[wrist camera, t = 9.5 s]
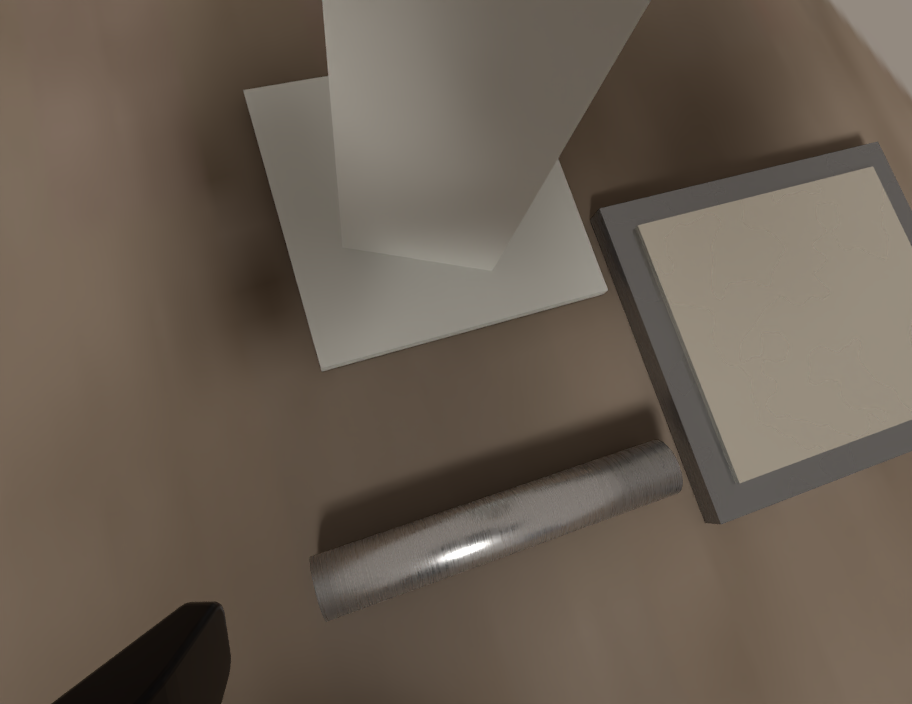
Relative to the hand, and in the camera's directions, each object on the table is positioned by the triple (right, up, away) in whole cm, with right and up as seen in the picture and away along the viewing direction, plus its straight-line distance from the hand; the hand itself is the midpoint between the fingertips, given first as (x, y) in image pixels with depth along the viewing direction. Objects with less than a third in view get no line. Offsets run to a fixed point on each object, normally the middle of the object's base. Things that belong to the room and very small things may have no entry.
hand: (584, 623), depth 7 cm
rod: (0, -1, +9) cm, 9 cm away
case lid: (-3, +8, +11) cm, 14 cm away
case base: (+9, +4, +12) cm, 16 cm away
